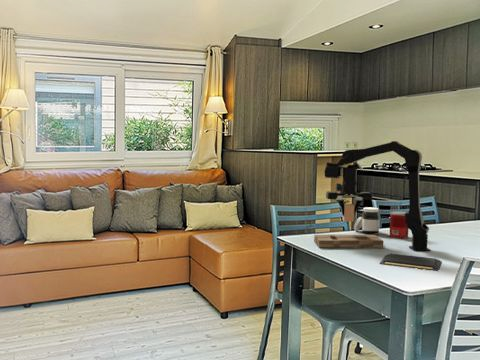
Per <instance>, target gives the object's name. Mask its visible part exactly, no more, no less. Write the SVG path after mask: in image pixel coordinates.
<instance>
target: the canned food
mask: <svg viewBox="0 0 480 360" xmlns="http://www.w3.org/2000/svg"><path fill="white" fill-rule="evenodd" d="M406 212H407V211H400V210H399V211H396V210H395V211H390V213H389V214H390V216H389V237H390V238H393V239H407V238H408V237H409V228H408V227H407V223H405V221H406V218H405V213H406Z"/></svg>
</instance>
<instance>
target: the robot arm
mask: <svg viewBox="0 0 480 360" xmlns="http://www.w3.org/2000/svg"><path fill="white" fill-rule="evenodd" d="M390 152H394V153H396V154H397V155H398V156H400V157H401V158H403V159H404V164H405V166H406V170H407V174H408V197H409V198H408V199H409V201H408V203H409V204H408V206H409V209H408V210H406V211H405V212H406V213H405V218H406V221H405V223H407V227H408V230H410V232H411V234H412V235H411V236H412V240H411V242H412V243H411V245H409V246H408V248H409V249H411V250H412V251H417V252H418V251H419V252H429V251H430V252H431V250H432V249H430V248H429V247H428V238H429V236H428V232H429V230H430V227H428V225H427V224H426V223H425V221H424V215H423V213H422V209H421V199H420V198H421V197H420V196H421V195H420V170H421V166H422V159H423V156H422V153H421V152H420V150H417V149H412V148H409V147H408V146H405V145H403V144H402V143H400V142H399V141H396V140H392V141H391V142H388V143H387V142H386V143H383V144H379V145H374V146H371V147H366V148H359V149H358V148H357V149H356V148H355V149H347V150H343V152H342V156H341V158H340V159H339V161H338V162H336V163H335V162H330V161H329V162H326V164H325V169H324V177H325V179H336V180H337V179H340V178H341V177H342V183H336V184H335V191H331V190H329V191H326V192H325V198H326V199H327V200H334V201H335V202H338V206H339V208H340V211H341V215H342V217H343V216H344V204H345V201H344V200H345V199H346V198H347V199H351V198H353V205H354V216H355V214H356V212H357V210H358V208H359V206H360V204H361V203H363V202H364V200H365V201H372V200H373V194H372V193H371V192H370V191H360V193H357V184H358V182H357V177H358V176H357V175H358V174H357V173H358V170H362V168H363V167H362V166H361V165H360V163H359V161H361V160H364V159H366V158H369V157H373V156H377V155H380V154H381V155H382V154H385V153H390ZM353 163H355V164H353ZM346 165H347V166H346ZM343 198H344V199H343ZM363 199H364V200H363Z"/></svg>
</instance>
